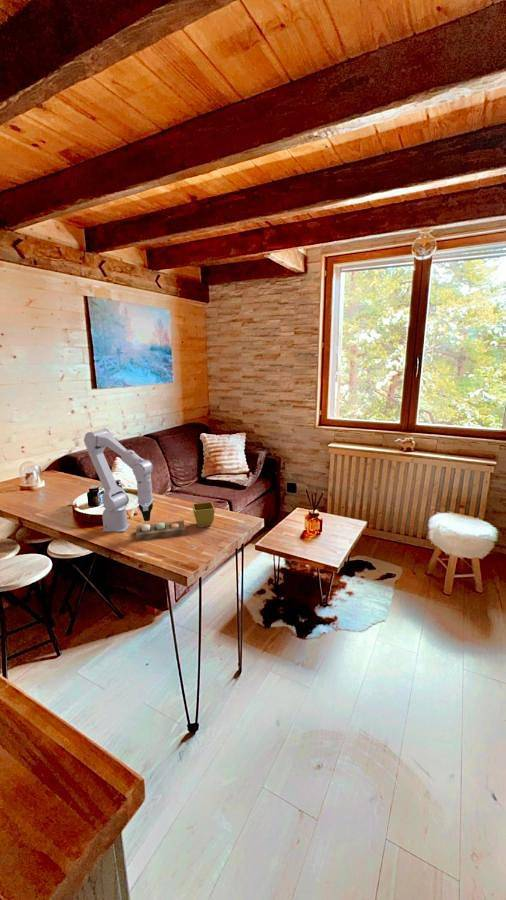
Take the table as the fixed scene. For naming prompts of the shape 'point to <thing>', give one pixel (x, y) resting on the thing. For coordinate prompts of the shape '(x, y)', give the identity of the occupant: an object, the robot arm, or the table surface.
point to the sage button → (160, 526)
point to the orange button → (174, 525)
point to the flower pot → (204, 513)
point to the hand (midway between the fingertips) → (146, 520)
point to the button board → (160, 531)
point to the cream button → (145, 527)
